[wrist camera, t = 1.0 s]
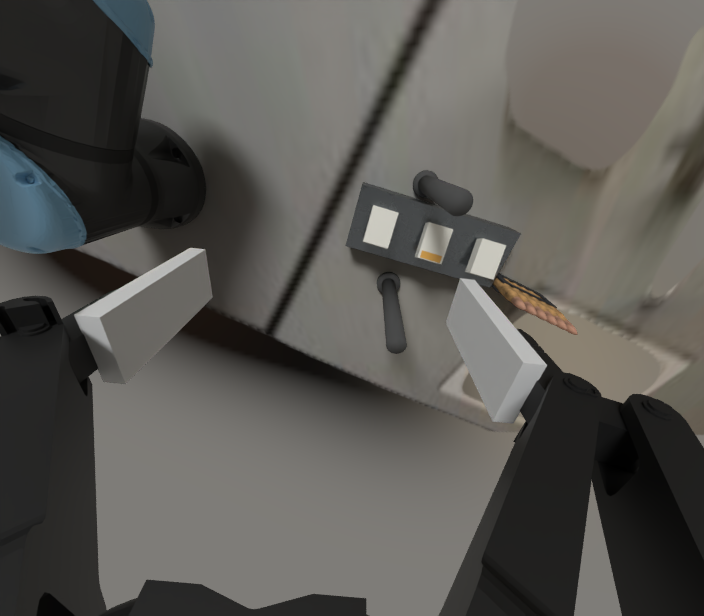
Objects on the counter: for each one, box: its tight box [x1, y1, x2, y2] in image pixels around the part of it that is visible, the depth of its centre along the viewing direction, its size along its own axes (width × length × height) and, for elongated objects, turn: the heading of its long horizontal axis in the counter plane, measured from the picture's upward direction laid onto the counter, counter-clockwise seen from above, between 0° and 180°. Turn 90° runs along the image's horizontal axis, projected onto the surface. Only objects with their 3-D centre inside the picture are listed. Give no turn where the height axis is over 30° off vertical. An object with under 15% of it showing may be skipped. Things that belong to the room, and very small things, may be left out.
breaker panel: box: [346, 182, 521, 288], centre depth 44 cm, size 24×9×4 cm, turn 74°
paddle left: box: [363, 205, 398, 249], centre depth 40 cm, size 4×5×2 cm
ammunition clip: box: [491, 273, 577, 335], centre depth 44 cm, size 11×2×12 cm, turn 65°
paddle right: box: [465, 238, 506, 280], centre depth 41 cm, size 4×5×2 cm
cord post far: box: [377, 272, 407, 354], centre depth 42 cm, size 4×4×19 cm
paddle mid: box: [415, 222, 453, 264], centre depth 41 cm, size 4×5×2 cm
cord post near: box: [413, 170, 473, 216], centre depth 34 cm, size 4×4×19 cm
